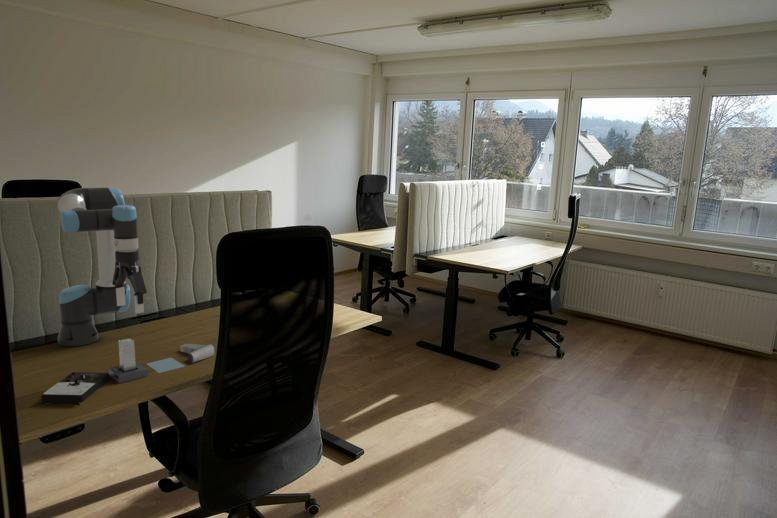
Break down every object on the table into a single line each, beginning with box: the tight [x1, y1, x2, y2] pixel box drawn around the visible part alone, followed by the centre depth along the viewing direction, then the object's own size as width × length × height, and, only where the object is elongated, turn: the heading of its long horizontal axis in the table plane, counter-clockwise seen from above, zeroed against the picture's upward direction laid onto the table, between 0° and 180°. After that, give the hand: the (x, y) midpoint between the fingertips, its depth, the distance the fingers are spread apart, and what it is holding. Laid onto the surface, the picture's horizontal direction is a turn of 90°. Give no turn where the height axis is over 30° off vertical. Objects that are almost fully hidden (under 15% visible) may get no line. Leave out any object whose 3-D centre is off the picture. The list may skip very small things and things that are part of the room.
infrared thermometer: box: [179, 343, 216, 364], centre depth 225 cm, size 5×12×15 cm
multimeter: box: [40, 371, 111, 406], centre depth 189 cm, size 13×19×5 cm
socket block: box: [108, 361, 149, 384], centre depth 202 cm, size 10×10×4 cm
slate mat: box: [146, 357, 186, 374], centre depth 213 cm, size 12×10×1 cm
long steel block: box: [117, 338, 137, 373], centre depth 201 cm, size 4×4×13 cm
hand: (130, 309), depth 199 cm, fingers open, 13 cm apart
